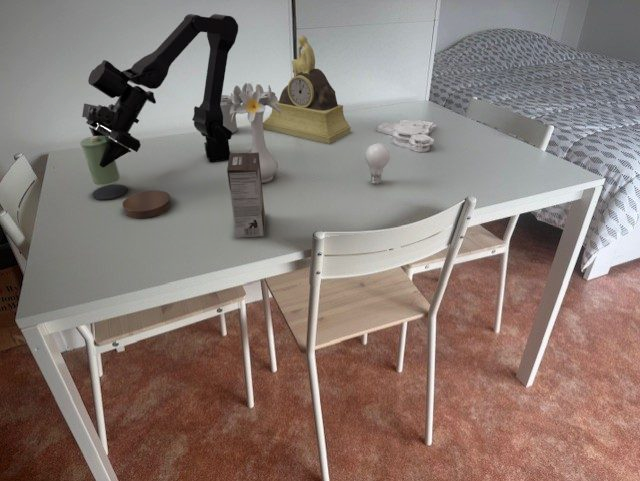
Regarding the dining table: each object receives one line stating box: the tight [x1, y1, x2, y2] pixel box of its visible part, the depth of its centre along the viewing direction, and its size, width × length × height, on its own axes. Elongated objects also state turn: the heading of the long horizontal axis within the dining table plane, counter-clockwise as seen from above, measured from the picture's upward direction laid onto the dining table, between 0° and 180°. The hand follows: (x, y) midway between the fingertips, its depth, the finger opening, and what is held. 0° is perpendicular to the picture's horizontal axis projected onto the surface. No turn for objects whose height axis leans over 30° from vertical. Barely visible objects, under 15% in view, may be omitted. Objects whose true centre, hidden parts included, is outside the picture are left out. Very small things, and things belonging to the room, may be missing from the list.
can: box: [221, 94, 238, 135], centre depth 153 cm, size 8×8×12 cm
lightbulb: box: [364, 142, 391, 185], centre depth 117 cm, size 6×6×11 cm
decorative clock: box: [263, 34, 351, 145], centre depth 148 cm, size 28×13×30 cm, turn 55°
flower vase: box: [227, 82, 282, 184], centre depth 117 cm, size 13×18×25 cm
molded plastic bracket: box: [375, 119, 437, 153], centre depth 149 cm, size 23×25×4 cm
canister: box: [79, 135, 121, 186], centre depth 112 cm, size 7×7×11 cm
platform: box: [122, 189, 172, 219], centre depth 110 cm, size 11×11×2 cm
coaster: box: [92, 184, 128, 201], centre depth 117 cm, size 8×8×1 cm
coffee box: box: [226, 152, 266, 239], centre depth 97 cm, size 9×6×16 cm
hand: (95, 162), depth 112 cm, fingers closed on canister, 6 cm apart
